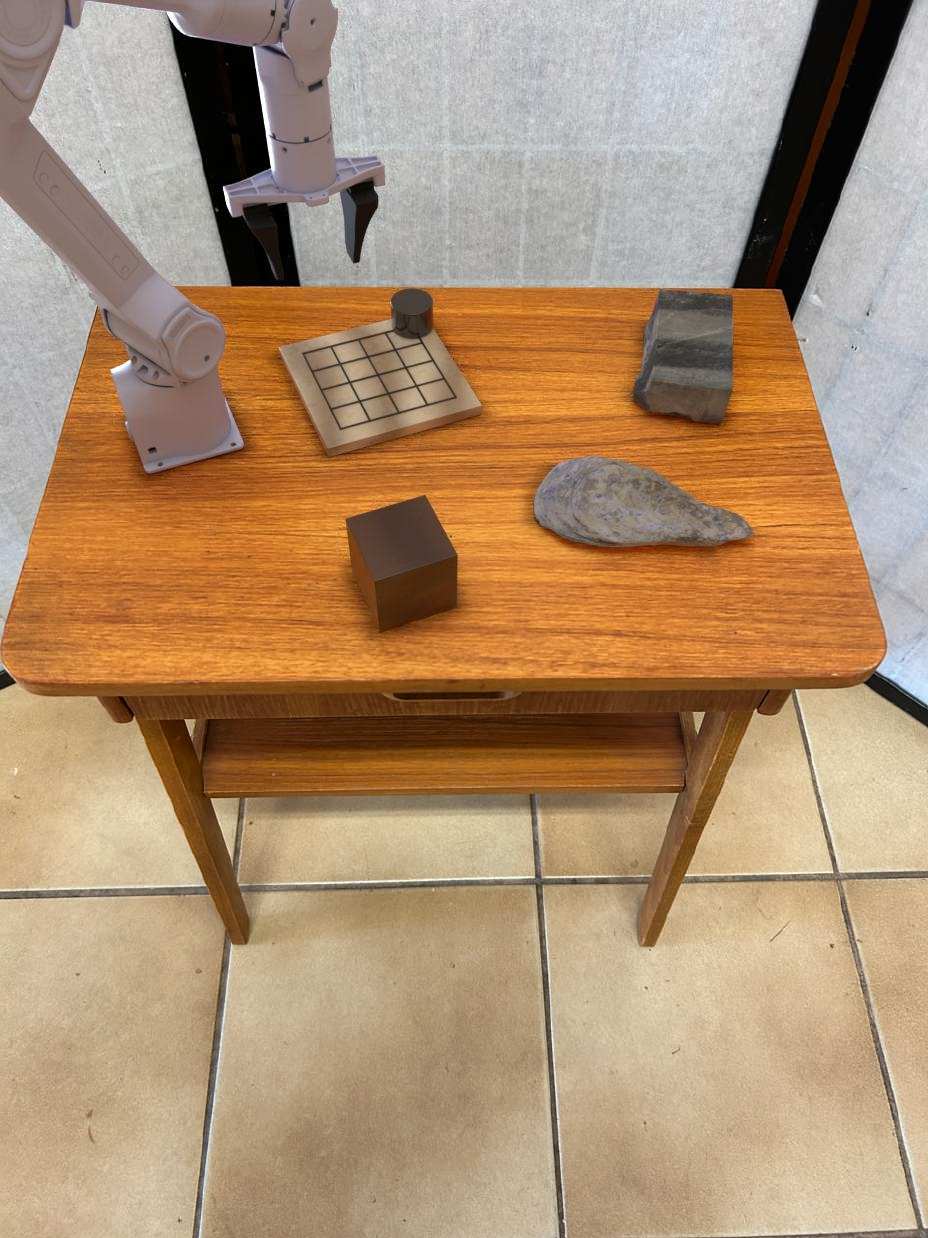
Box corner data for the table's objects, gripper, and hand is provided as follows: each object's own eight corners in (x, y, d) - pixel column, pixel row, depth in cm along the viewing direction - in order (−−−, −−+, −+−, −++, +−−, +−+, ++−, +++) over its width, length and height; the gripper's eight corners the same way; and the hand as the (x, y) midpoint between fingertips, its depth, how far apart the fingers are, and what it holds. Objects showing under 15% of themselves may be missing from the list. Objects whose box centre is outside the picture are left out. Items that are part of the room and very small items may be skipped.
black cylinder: (400, 342, 99) (399, 318, 96) (385, 317, 101) (384, 293, 99) (439, 332, 100) (439, 308, 97) (424, 308, 102) (423, 283, 100)
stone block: (631, 416, 95) (639, 375, 91) (638, 326, 103) (646, 284, 99) (721, 427, 94) (734, 386, 90) (722, 335, 102) (733, 293, 98)
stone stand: (379, 633, 79) (374, 581, 73) (352, 571, 83) (345, 518, 77) (457, 607, 81) (458, 554, 75) (426, 548, 85) (425, 494, 79)
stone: (740, 587, 85) (741, 501, 91) (754, 564, 82) (755, 476, 87) (526, 546, 85) (540, 462, 91) (533, 521, 82) (546, 436, 88)
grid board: (328, 457, 91) (327, 447, 90) (280, 355, 99) (278, 345, 98) (481, 414, 95) (482, 404, 94) (422, 320, 103) (422, 309, 102)
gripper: (228, 166, 78) (255, 306, 89) (394, 132, 81) (400, 272, 92) (206, 124, 82) (235, 264, 93) (366, 94, 85) (375, 233, 96)
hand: (316, 265), depth 93 cm, fingers open, 7 cm apart
